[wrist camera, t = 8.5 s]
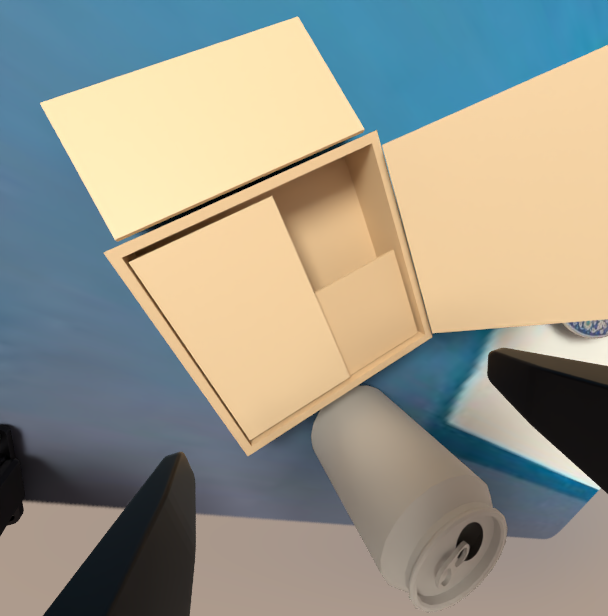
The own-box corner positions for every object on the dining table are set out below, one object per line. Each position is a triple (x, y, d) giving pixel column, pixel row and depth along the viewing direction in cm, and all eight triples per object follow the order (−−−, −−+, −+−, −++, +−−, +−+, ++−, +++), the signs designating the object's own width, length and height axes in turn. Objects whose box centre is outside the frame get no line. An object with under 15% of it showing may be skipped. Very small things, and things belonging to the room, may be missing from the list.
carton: (239, 422, 22) (247, 456, 18) (28, 111, 14) (-21, 77, 10) (401, 322, 24) (432, 337, 21) (306, 18, 16) (333, -32, 13)
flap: (432, 333, 20) (671, 314, 14) (382, 145, 16) (707, 0, 10) (432, 330, 21) (666, 309, 15) (383, 144, 16) (700, 3, 10)
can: (391, 431, 27) (521, 565, 17) (320, 472, 26) (415, 652, 15) (375, 365, 25) (520, 475, 14) (295, 406, 23) (389, 568, 12)
